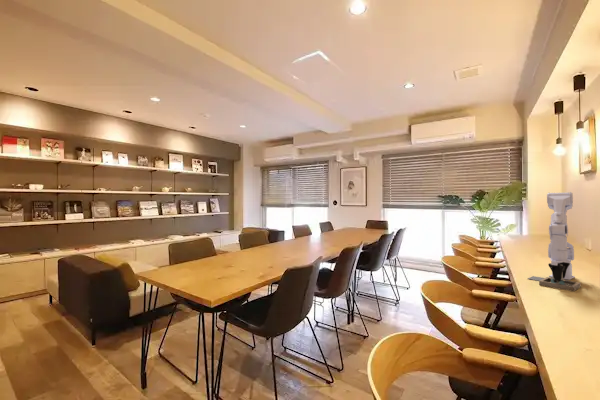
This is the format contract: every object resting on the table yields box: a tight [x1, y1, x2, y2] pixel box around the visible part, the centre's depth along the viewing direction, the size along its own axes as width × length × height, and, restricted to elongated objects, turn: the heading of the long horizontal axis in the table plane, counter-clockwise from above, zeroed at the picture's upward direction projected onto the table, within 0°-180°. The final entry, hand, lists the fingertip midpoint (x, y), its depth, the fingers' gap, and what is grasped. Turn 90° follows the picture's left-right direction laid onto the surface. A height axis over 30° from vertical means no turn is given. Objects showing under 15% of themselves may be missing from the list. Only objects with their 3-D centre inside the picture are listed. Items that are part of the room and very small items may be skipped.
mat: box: [527, 275, 545, 282], centre depth 143 cm, size 8×7×1 cm
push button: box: [549, 264, 566, 285], centre depth 132 cm, size 7×5×10 cm
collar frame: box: [538, 277, 582, 292], centre depth 132 cm, size 11×12×2 cm
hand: (559, 278), depth 132 cm, fingers closed on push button, 5 cm apart
